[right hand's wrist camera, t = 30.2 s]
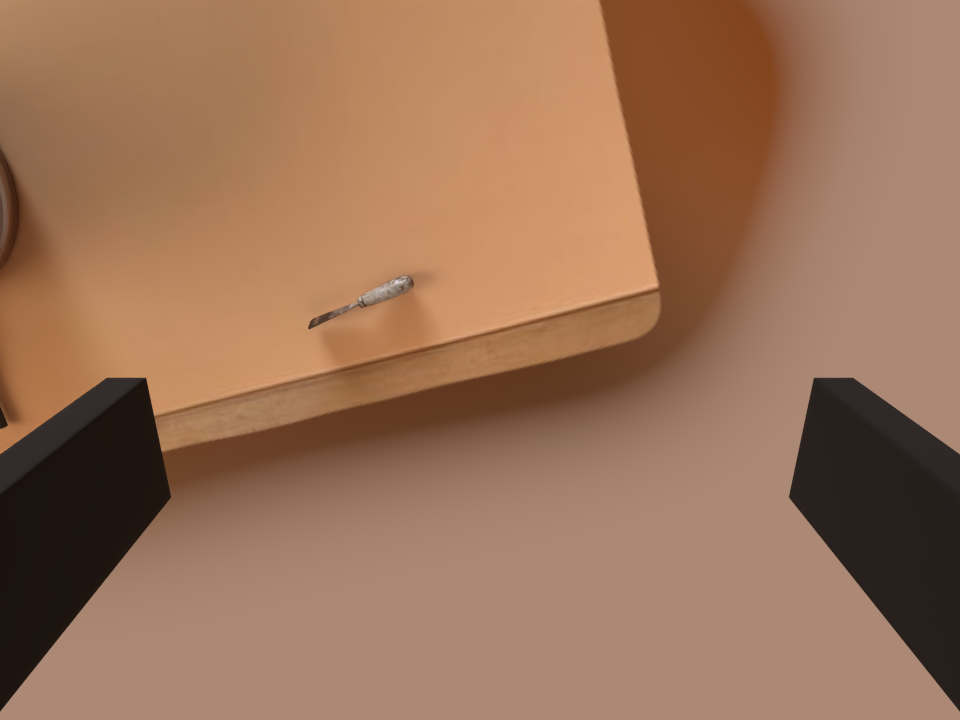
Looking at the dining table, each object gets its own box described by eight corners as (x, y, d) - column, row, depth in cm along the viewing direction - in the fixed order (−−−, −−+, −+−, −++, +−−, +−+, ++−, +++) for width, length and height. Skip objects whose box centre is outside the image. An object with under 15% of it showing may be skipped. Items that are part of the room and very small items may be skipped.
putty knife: (416, 284, 44) (414, 290, 43) (316, 329, 45) (310, 337, 44) (409, 271, 44) (407, 277, 42) (309, 316, 45) (303, 324, 44)
